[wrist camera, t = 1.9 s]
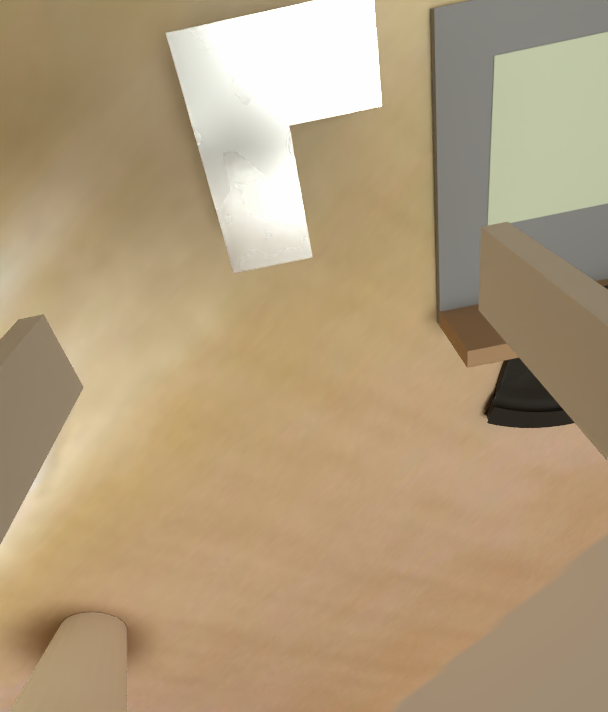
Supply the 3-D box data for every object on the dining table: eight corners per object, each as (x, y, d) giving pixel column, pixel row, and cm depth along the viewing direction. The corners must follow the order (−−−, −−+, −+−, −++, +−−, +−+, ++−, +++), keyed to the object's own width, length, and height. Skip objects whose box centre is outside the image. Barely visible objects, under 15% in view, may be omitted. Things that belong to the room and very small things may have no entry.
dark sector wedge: (622, 421, 41) (634, 434, 39) (476, 413, 39) (484, 426, 37) (676, 339, 36) (692, 351, 35) (514, 325, 34) (525, 337, 33)
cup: (156, 655, 55) (129, 815, 43) (44, 659, 53) (-15, 826, 42) (149, 596, 48) (115, 766, 37) (20, 598, 46) (-56, 777, 35)
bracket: (186, 36, 23) (165, 33, 18) (347, 1, 23) (373, -13, 18) (238, 233, 28) (233, 273, 23) (368, 207, 28) (392, 241, 23)
